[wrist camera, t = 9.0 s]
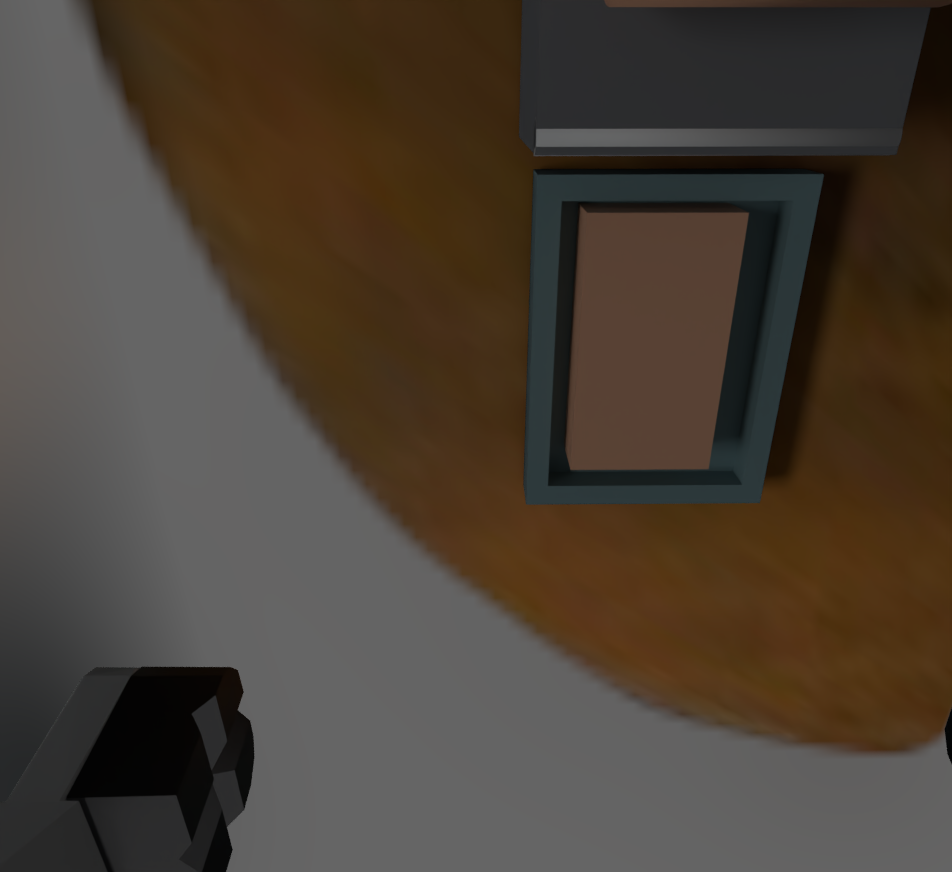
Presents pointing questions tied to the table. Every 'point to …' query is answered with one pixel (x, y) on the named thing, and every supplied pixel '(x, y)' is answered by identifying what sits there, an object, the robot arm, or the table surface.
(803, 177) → the tray
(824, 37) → the dispenser
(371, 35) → the table surface
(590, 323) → the ticket
